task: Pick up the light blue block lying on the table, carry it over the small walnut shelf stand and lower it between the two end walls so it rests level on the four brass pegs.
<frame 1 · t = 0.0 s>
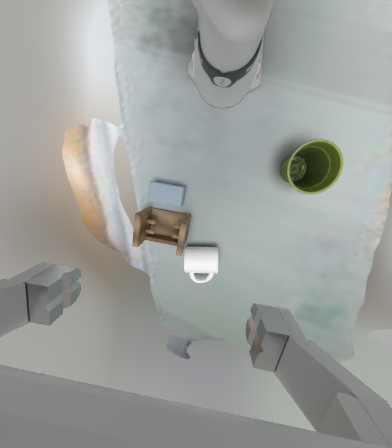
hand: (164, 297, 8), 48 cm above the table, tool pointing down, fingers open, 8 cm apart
mug: (201, 259, 60), on the table
light blue block: (169, 192, 55), on the table
plant pot: (292, 169, 51), on the table
stand: (167, 224, 58), on the table
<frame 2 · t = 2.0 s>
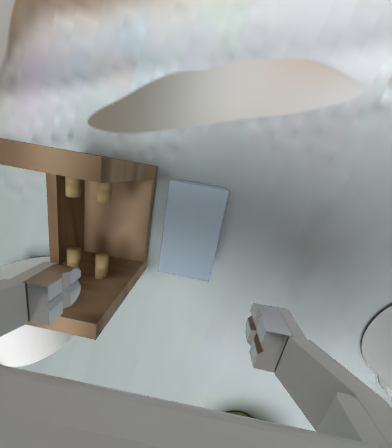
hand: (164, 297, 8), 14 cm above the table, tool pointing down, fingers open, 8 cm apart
mug: (48, 285, 27), on the table
light blue block: (195, 221, 22), on the table
stand: (116, 215, 23), on the table
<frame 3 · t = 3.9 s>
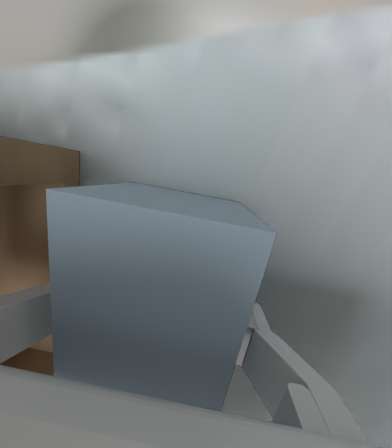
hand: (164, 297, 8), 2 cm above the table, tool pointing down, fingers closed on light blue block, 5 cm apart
light blue block: (172, 275, 10), on the table, touching gripper
stand: (5, 257, 11), on the table
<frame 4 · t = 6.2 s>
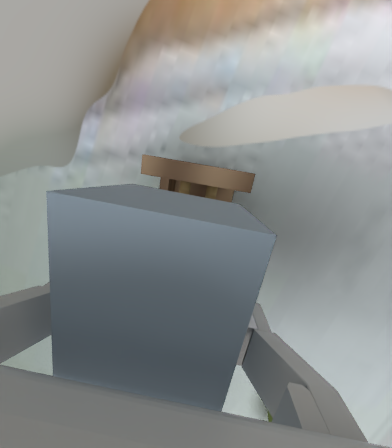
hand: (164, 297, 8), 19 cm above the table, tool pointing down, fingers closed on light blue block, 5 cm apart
light blue block: (172, 276, 10), point 17 cm above the table, touching gripper
stand: (196, 215, 27), on the table
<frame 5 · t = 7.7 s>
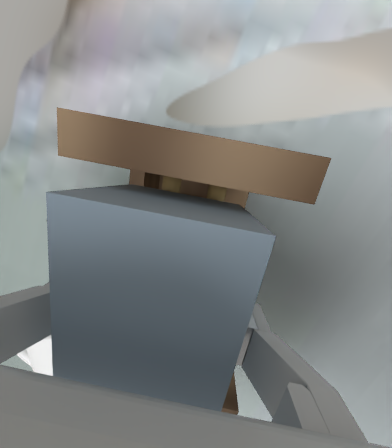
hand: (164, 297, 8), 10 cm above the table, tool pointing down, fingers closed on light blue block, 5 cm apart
mug: (93, 311, 22), on the table
light blue block: (172, 277, 10), point 8 cm above the table, touching gripper
stand: (190, 229, 18), on the table
when the fingers open (9 cm above the table, at t = 8.8 s): light blue block drops 1 cm, resting on stand.
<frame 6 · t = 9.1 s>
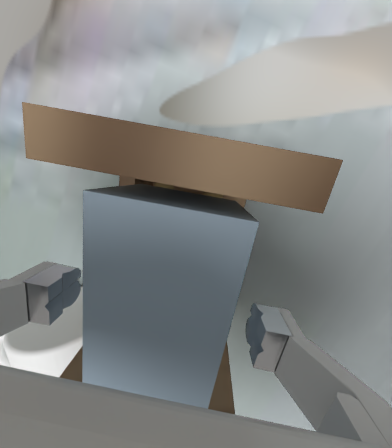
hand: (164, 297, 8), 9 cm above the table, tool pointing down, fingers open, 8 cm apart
mug: (86, 320, 21), on the table
light blue block: (176, 265, 12), point 6 cm above the table, touching stand
stand: (186, 234, 17), on the table
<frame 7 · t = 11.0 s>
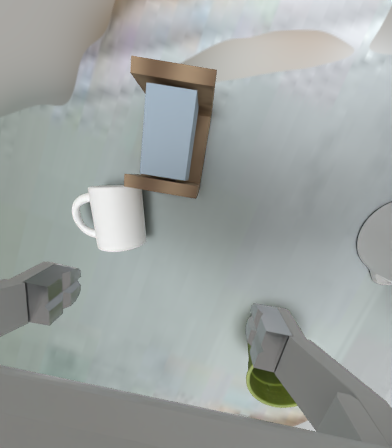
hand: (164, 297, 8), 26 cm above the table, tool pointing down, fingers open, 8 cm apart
mug: (119, 211, 35), on the table
light blue block: (173, 142, 25), point 6 cm above the table, touching stand
plant pot: (261, 324, 40), on the table
stand: (179, 148, 31), on the table
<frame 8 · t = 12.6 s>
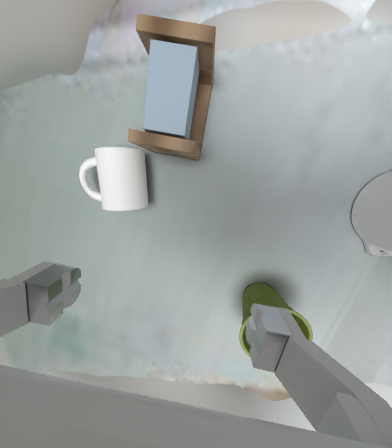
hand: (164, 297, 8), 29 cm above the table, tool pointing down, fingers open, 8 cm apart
mug: (123, 179, 37), on the table
light blue block: (175, 105, 27), point 6 cm above the table, touching stand
plant pot: (257, 295, 41), on the table
stand: (181, 117, 33), on the table
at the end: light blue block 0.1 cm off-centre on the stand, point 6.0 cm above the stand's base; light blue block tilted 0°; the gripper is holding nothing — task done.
